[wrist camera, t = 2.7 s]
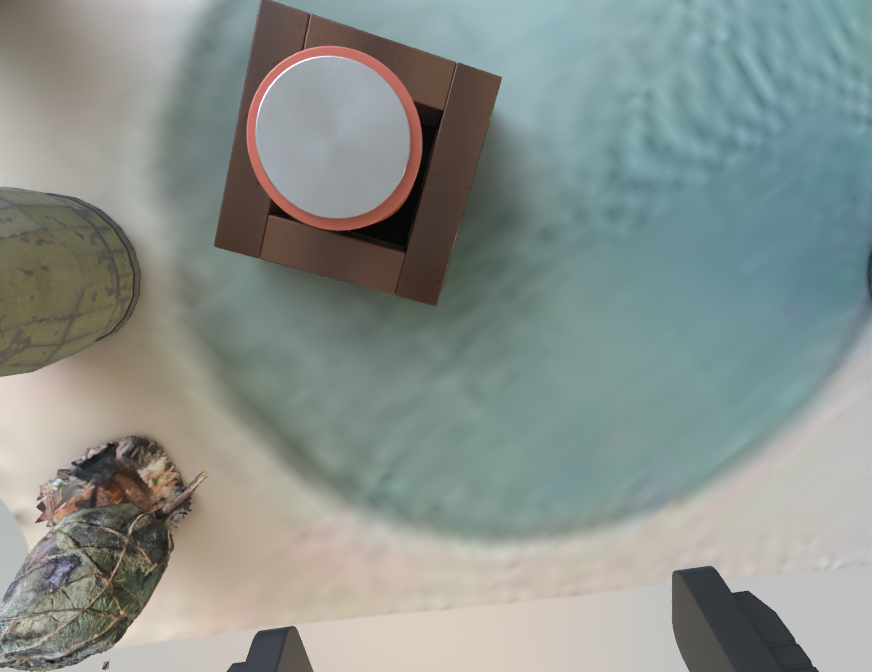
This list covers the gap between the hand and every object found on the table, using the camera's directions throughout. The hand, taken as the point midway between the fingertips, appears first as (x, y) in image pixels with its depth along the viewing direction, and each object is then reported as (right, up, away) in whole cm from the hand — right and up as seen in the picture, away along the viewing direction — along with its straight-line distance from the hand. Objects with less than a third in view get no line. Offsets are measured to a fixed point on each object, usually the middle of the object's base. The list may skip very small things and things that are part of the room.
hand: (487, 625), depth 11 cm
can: (-5, +15, +18) cm, 24 cm away
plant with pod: (-20, -4, +22) cm, 30 cm away
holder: (-5, +15, +18) cm, 24 cm away
